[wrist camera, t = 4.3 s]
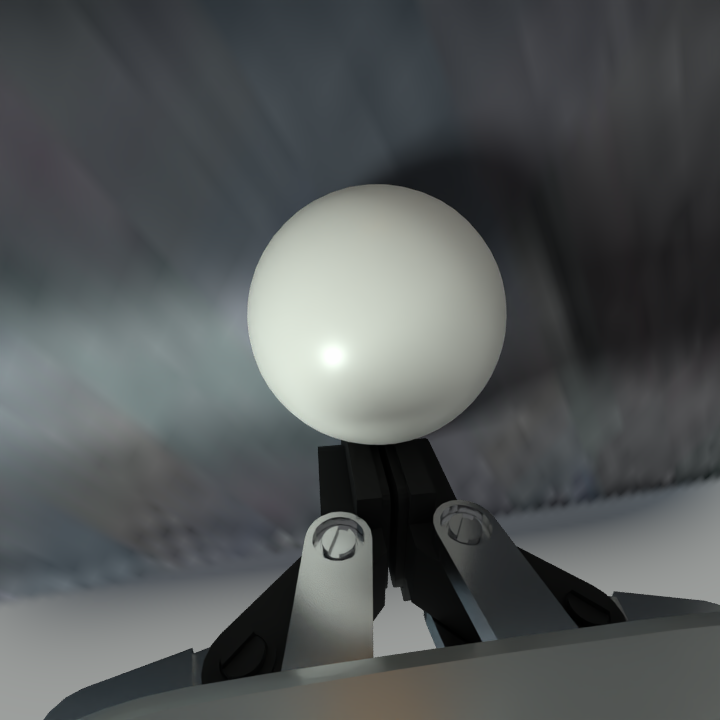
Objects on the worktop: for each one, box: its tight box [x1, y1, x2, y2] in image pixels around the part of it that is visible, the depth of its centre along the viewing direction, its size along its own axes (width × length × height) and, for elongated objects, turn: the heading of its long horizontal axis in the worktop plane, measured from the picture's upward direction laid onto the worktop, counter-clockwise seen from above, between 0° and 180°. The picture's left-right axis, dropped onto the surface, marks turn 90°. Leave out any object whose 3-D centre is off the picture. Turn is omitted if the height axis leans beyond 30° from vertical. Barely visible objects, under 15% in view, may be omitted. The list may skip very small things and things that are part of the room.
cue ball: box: [247, 184, 507, 445], centre depth 9 cm, size 6×6×6 cm
